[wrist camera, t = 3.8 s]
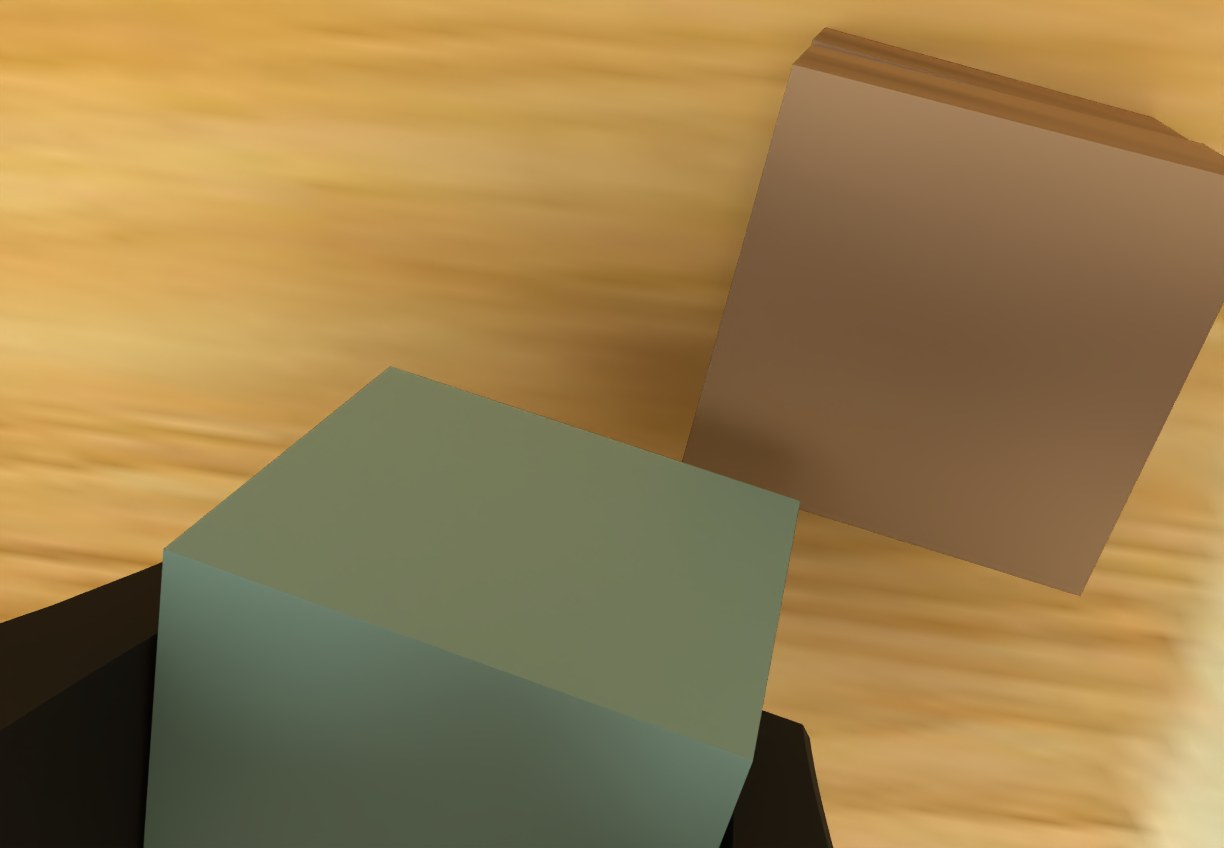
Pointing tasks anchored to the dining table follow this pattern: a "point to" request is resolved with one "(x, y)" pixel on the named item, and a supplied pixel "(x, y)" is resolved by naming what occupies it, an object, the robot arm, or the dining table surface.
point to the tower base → (981, 79)
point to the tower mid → (961, 314)
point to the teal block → (464, 639)
